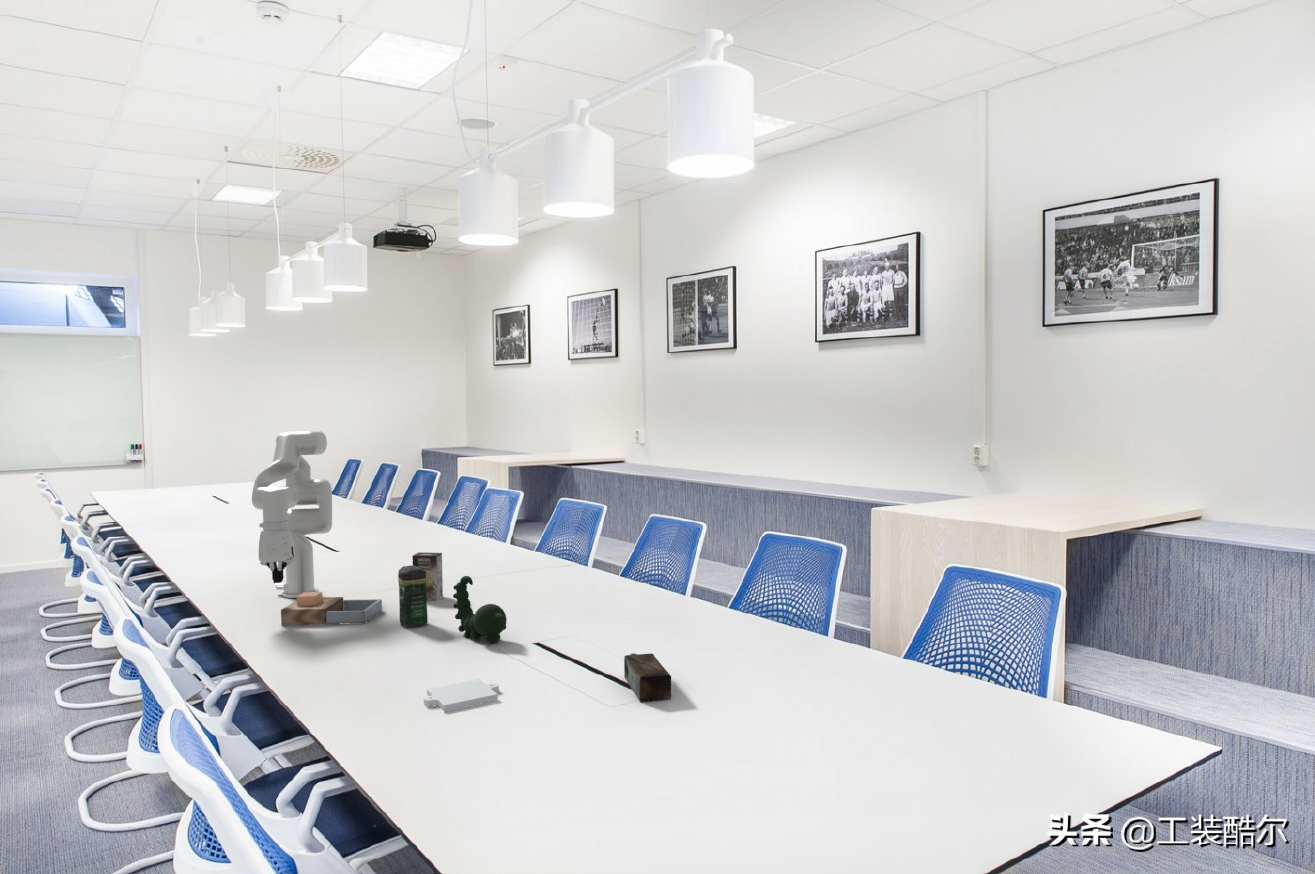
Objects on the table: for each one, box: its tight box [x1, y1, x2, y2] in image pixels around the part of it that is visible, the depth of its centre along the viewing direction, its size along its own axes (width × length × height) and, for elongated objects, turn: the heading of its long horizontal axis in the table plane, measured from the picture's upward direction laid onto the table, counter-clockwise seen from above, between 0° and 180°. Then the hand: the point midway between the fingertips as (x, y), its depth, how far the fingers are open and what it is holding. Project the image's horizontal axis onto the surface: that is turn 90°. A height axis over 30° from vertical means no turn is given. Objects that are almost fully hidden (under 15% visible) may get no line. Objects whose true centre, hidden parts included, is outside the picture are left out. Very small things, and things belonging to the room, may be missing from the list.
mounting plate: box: [423, 678, 500, 712], centre depth 206 cm, size 18×13×2 cm
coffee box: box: [412, 552, 444, 601], centre depth 307 cm, size 9×6×16 cm
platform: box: [280, 596, 344, 626], centre depth 283 cm, size 14×16×5 cm
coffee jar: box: [397, 564, 429, 628], centre depth 272 cm, size 10×8×19 cm
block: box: [296, 591, 323, 606], centre depth 283 cm, size 6×6×3 cm
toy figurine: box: [452, 575, 507, 645], centre depth 255 cm, size 9×19×25 cm
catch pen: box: [324, 598, 383, 625], centre depth 283 cm, size 13×16×4 cm
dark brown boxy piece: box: [623, 652, 672, 703], centre depth 209 cm, size 8×19×7 cm, turn 13°
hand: (278, 582), depth 282 cm, fingers closed
